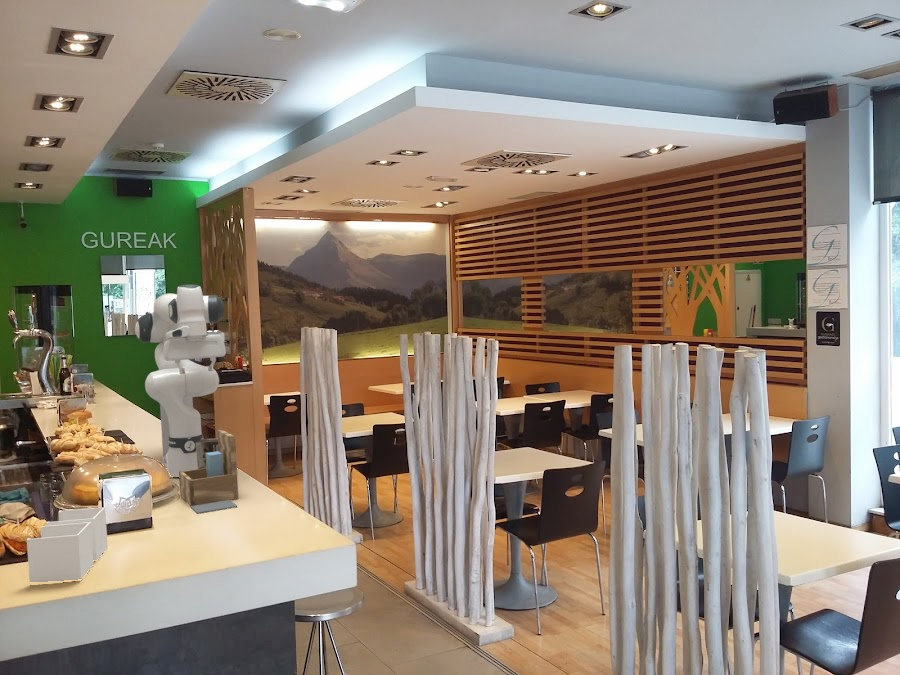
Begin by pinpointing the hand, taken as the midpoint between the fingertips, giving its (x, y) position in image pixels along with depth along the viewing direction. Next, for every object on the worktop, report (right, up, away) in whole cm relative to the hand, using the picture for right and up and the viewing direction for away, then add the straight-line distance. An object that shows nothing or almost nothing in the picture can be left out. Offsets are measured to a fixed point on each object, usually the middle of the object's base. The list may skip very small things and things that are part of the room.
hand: (196, 372), depth 274 cm
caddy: (+8, -40, -14) cm, 43 cm away
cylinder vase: (-24, -37, +54) cm, 69 cm away
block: (+10, -35, -13) cm, 39 cm away
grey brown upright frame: (+6, -39, 0) cm, 39 cm away
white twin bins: (-6, -44, -77) cm, 89 cm away
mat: (+14, -40, -27) cm, 50 cm away
